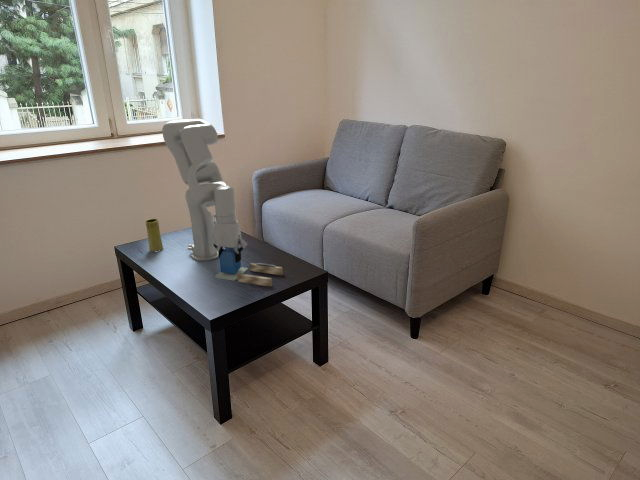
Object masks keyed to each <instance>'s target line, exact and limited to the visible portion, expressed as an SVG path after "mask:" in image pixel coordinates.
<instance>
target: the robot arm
mask: <svg viewBox="0 0 640 480" xmlns="http://www.w3.org/2000/svg"><path fill="white" fill-rule="evenodd" d="M161 130H162V131H161V132H162V138H163V141H164V144H165V146H166V147H167V148H168V150H169V151H170V152H171V154H172V156H173V158H174V160H175V163H176V166H177V168H178V171H179V175H180V177H181V179H182V181H183V183H184V184H185V185H187V186H188V188H187V190H186V191H185V193H184V194H185V195H184V196H185V197H184V198H185V201H186V204H187V207H188V213H189V217H190V223H191V232H192V233H191V234H192V240H193V243H192V244H191V243H189V244H188V245H187V250H188V251H192V253H191V258H192V259H193V260H195V261H199V262H205V261H211V260H215V259H217V258H218V259H219V258H220V256H221V254H222V251H223V250H225V247H228V248H234V249H235V251H236V253H235V260H236V263H238V262H239V261H241V262H242V253H241V252H242V251H243V250H244V249H245V248H246V247H247V246H248V243H247V242H246V241H245V240H244V239H243V238H242V232H241V227H240V224H239V221H238V220H237V212H236V211H237V210H236V201H235V191H234V188H233V186H230V185H228V184H227V182H226V181H224V180H223V179H224V178H223V176H222V174H221V171H220V169H219V166H218V165H217V163H216V162H215V161H213V155H212V153H211V150H210V149H209V146H211V145H215V144H216V143H217V142H218V138H219V137H218V133H217V130H216V128H215V127H214V126H213V125H212V124H211V123H210V122H208V121H206V120H204V119H201V118H189V119H178V120H170V121H168V122H166V123H164V124H163V126H162V129H161ZM210 207H214V209H215V213H214V214H212V213H211V211H209V209H208V208H210ZM214 218H215V221H214Z"/></svg>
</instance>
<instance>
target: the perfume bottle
mask: <svg viewBox="0 0 640 480" xmlns="http://www.w3.org/2000/svg"><path fill="white" fill-rule="evenodd" d="M235 253H236V251H235V249H234V248H228V247H224V250H223V251H222V254H221V256H220V258H219V257H218V260H219V269H220V272H222V273H235V274H236V272H237V271H238V270H239V269H240V268H241V267H242V260H241V261H239V262H238V263H236V260H235Z"/></svg>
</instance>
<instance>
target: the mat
mask: <svg viewBox="0 0 640 480" xmlns="http://www.w3.org/2000/svg"><path fill="white" fill-rule="evenodd" d="M248 270H249V268H248V267H244V266H241V268H240V269H239V270H238V271H237V272H236V274H235V273H222V272H221V271H219V272H218V273H217V274H216V275H214V278H215V279H221V280H227V281H234V282H235V281H237V280H238V276H237V275H238V274H239V273H240V274H245V273H246V272H247V271H248Z"/></svg>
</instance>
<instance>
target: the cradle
mask: <svg viewBox="0 0 640 480" xmlns="http://www.w3.org/2000/svg"><path fill="white" fill-rule="evenodd" d="M283 270H284V269H283V267H282V266H276V264H271V263H270V264H269V263H263V262H256V263H253V262H249V271H250V272H256V273H261V274H262V273H264V274H269V275H276V276H282V275H283V273H284V272H283ZM237 276H238V279H237V282H239V283H245V284H251V285H259V286H265V287H272V286H273V280H272V279H273V278H272V277H265V276H259V275H252V274H248V273H247V274H246V273H243V274H240V273H239V274H238V275H237Z"/></svg>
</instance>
